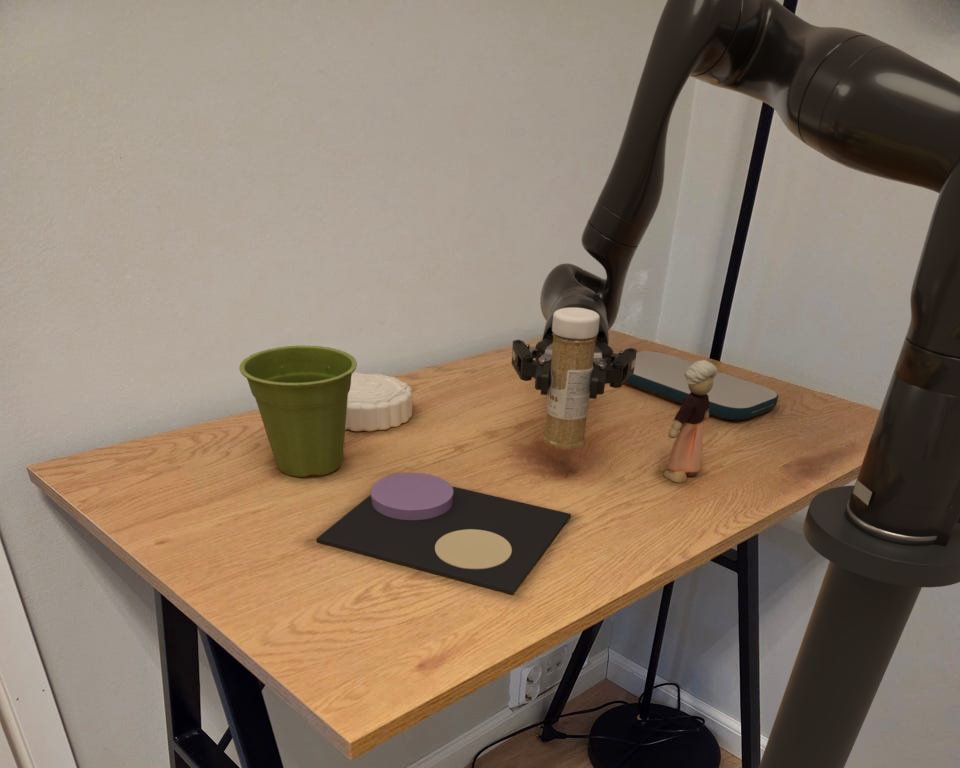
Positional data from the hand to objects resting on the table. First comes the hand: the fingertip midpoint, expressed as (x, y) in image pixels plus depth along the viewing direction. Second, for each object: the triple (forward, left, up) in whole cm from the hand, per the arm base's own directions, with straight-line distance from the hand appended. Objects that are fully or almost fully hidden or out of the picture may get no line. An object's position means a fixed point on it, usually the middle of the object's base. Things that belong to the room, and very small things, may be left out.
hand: (569, 387), depth 81 cm
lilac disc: (+12, +10, -11) cm, 19 cm away
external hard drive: (-6, -38, -11) cm, 40 cm away
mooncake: (+29, -9, -11) cm, 32 cm away
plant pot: (+27, +7, -11) cm, 30 cm away
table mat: (+7, +13, -11) cm, 19 cm away
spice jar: (+1, -3, -7) cm, 8 cm away
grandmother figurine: (-11, -11, -11) cm, 19 cm away
